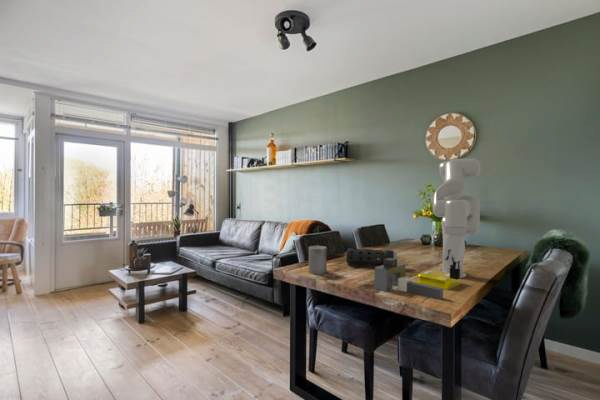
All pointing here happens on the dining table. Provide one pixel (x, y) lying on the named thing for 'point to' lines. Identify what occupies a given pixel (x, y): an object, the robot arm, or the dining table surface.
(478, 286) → the dining table surface
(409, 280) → the grey and white bar
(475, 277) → the dining table surface
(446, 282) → the element tile
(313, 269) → the pillar candle
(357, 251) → the muzzle brake
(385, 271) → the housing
